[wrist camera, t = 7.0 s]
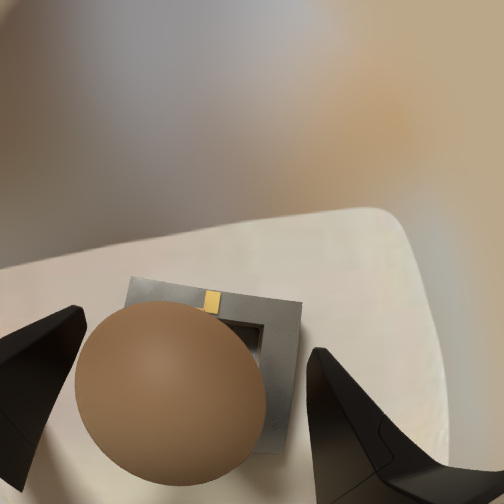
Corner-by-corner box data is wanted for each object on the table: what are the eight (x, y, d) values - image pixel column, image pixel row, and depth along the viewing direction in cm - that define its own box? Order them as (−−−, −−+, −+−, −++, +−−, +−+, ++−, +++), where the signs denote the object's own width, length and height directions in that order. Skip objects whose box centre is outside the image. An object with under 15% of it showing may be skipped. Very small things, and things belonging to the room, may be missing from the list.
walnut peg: (236, 407, 16) (252, 497, 4) (167, 395, 16) (72, 453, 4) (246, 338, 17) (277, 312, 6) (177, 328, 17) (91, 281, 6)
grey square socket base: (276, 442, 15) (283, 455, 12) (123, 415, 15) (107, 423, 12) (292, 309, 18) (303, 301, 16) (143, 286, 18) (130, 275, 15)
